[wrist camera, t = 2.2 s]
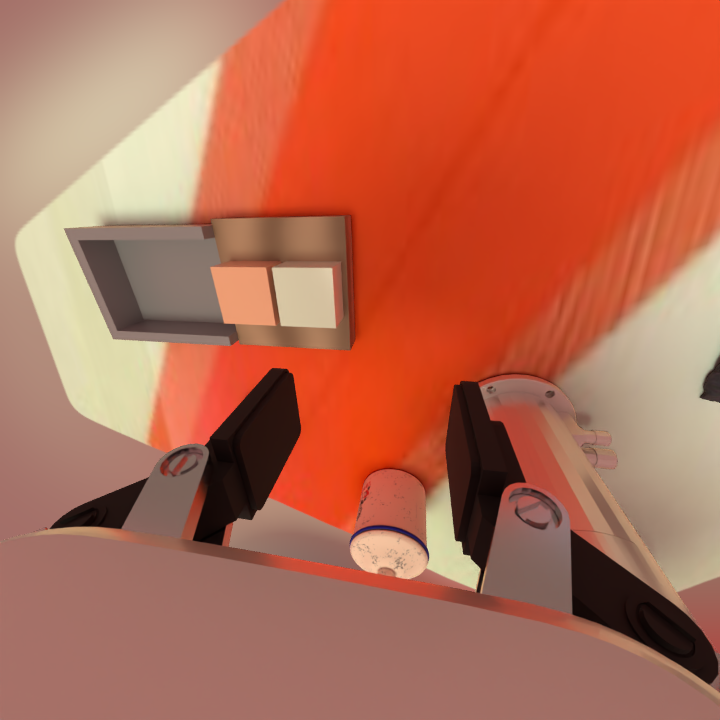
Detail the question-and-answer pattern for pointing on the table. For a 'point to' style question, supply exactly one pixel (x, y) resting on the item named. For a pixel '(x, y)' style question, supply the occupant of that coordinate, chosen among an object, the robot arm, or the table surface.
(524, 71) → the table surface
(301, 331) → the board
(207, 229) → the box
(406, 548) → the teacup with lid
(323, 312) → the cream white block
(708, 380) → the dark slate chunk
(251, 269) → the salmon orange block
